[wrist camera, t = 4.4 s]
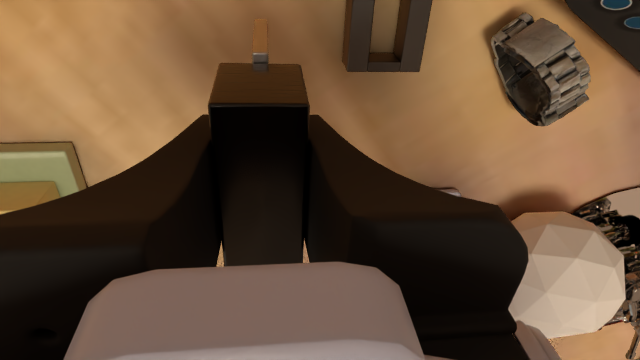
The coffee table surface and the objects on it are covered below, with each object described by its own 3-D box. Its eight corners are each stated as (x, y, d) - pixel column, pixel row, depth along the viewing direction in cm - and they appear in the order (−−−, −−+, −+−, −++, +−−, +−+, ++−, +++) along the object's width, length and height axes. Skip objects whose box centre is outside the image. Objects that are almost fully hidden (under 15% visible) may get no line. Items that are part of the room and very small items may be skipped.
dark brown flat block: (290, 167, 16) (302, 285, 11) (237, 167, 16) (226, 289, 11) (293, 19, 13) (311, 92, 8) (228, 17, 13) (205, 91, 8)
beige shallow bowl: (509, 342, 37) (543, 403, 32) (516, 218, 28) (563, 277, 24) (678, 301, 36) (736, 357, 32) (737, 161, 28) (828, 212, 23)
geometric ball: (450, 283, 30) (549, 367, 27) (470, 259, 23) (608, 370, 20) (513, 210, 32) (614, 282, 29) (550, 166, 25) (690, 256, 22)
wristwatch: (479, 66, 23) (537, 136, 22) (492, 18, 18) (568, 104, 17) (527, 33, 23) (590, 102, 21) (554, -26, 18) (637, 59, 16)
